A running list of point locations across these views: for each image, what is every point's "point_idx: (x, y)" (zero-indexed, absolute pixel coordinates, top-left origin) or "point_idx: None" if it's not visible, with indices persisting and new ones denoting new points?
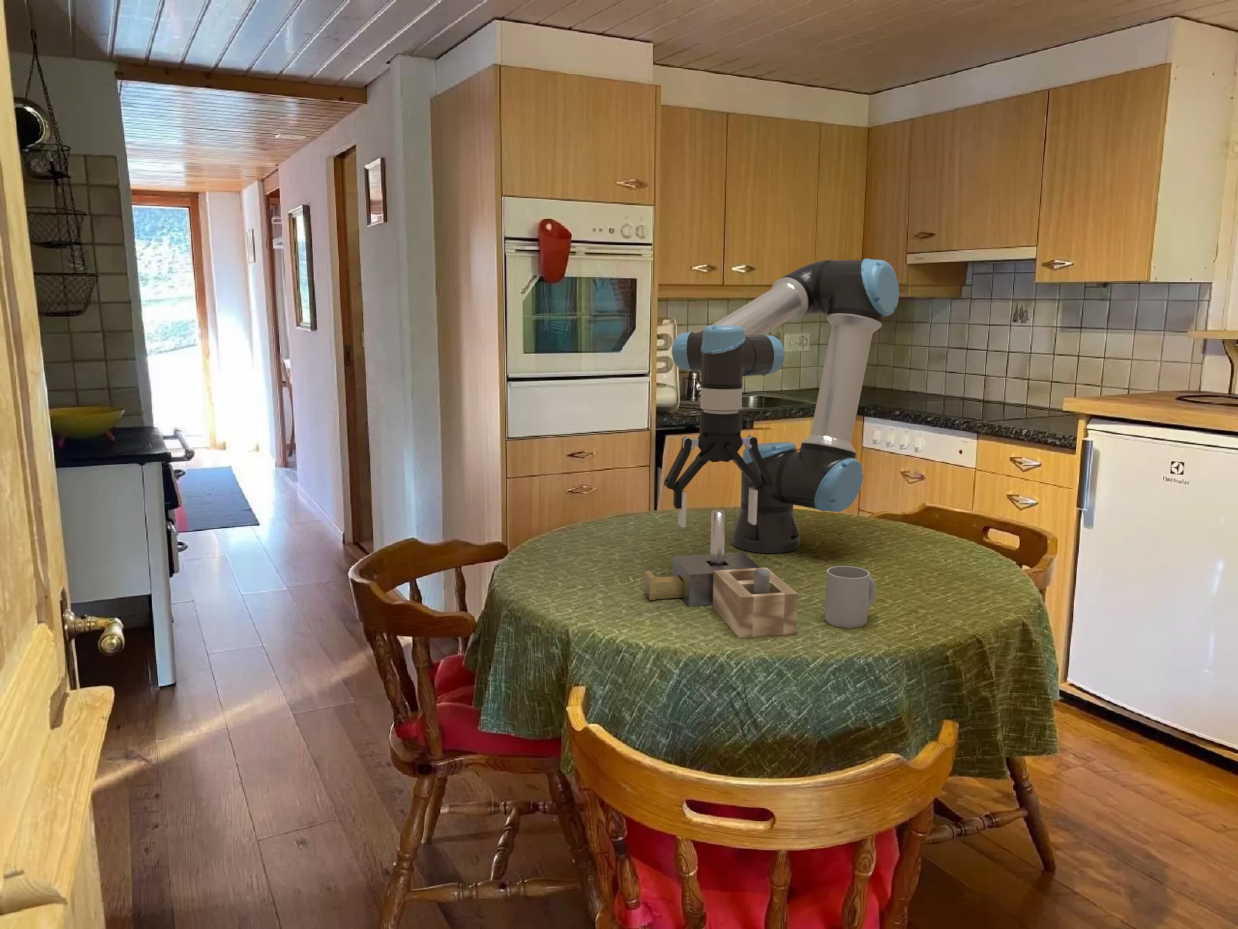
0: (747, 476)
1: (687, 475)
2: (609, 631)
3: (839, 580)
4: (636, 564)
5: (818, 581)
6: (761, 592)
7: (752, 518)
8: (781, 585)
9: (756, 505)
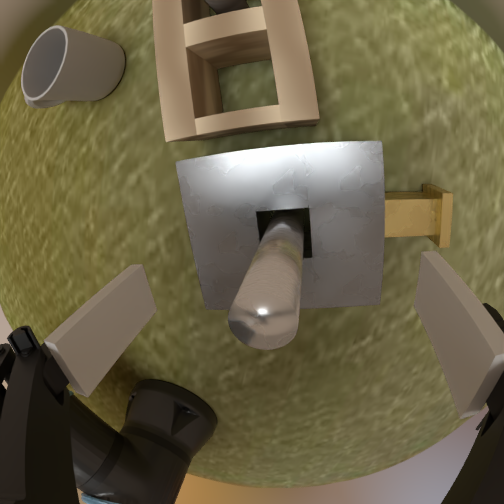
0: (40, 418)
1: None
2: (492, 62)
3: (66, 27)
4: (384, 376)
5: (106, 260)
6: None
7: (131, 278)
8: (166, 10)
9: (88, 301)
